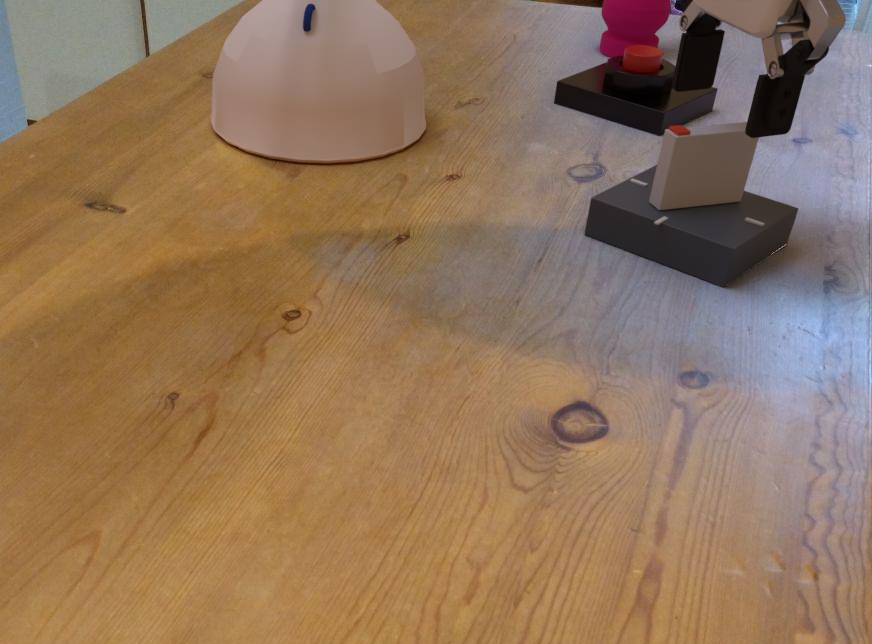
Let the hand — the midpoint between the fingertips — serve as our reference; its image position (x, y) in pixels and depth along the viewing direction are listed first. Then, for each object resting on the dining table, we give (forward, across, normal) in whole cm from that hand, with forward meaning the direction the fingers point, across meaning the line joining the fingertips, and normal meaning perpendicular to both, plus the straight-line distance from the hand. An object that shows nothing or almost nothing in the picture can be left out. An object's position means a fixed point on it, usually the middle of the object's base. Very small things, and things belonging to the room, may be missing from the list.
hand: (727, 110), depth 76 cm
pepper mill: (+10, +44, -18) cm, 49 cm away
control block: (+10, +28, -10) cm, 31 cm away
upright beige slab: (+7, 0, +1) cm, 7 cm away
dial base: (+10, 0, +1) cm, 10 cm away
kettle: (+9, +31, +22) cm, 39 cm away
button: (+6, +28, -10) cm, 31 cm away
